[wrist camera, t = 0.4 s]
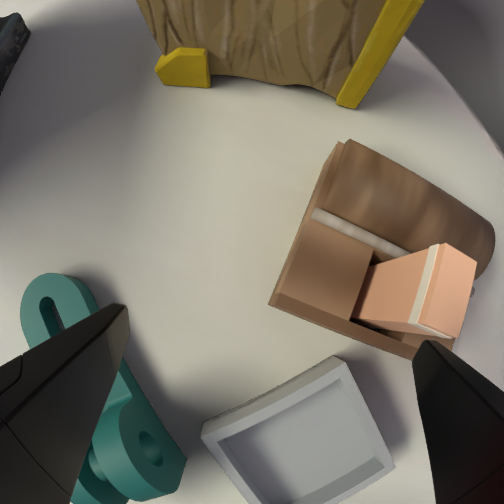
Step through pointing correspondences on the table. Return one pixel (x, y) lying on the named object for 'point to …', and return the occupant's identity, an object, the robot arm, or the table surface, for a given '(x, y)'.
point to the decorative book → (279, 41)
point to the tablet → (11, 44)
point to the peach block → (418, 293)
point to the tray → (301, 440)
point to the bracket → (107, 410)
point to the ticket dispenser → (370, 240)
